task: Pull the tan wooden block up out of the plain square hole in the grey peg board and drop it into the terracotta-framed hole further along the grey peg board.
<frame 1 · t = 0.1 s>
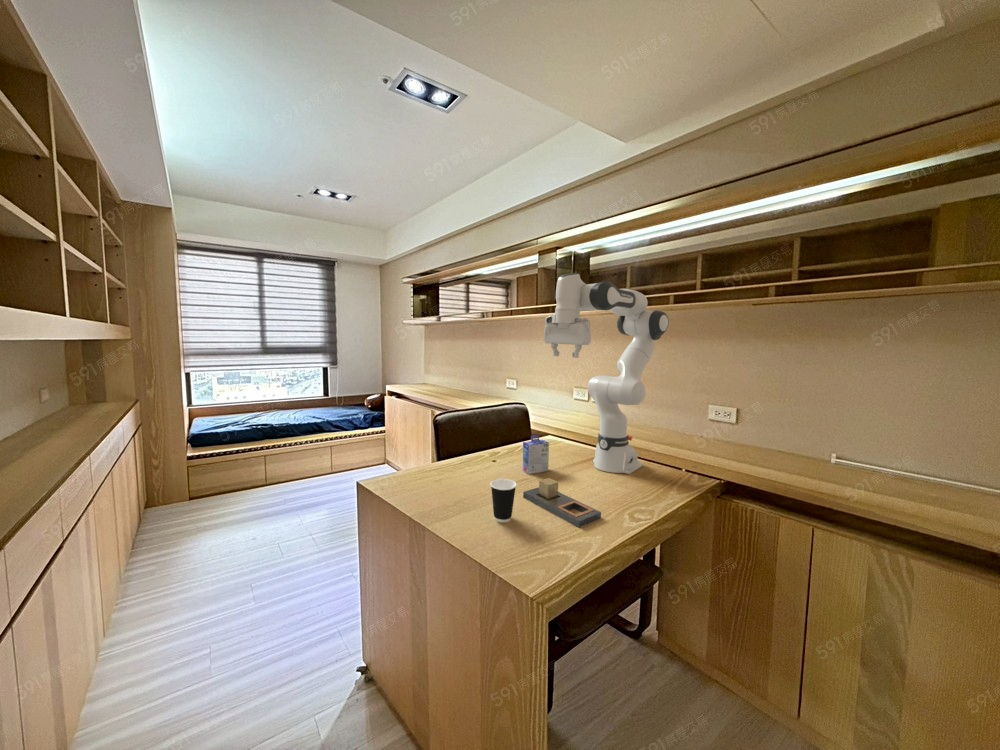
hand: (565, 356, 139), 48 cm above the table, fingers open, 8 cm apart
grey peg board: (559, 507, 123), on the table
tan wooden block: (548, 501, 128), resting in grey peg board
ink cartridge box: (535, 471, 156), on the table
dixie cup: (502, 519, 115), on the table
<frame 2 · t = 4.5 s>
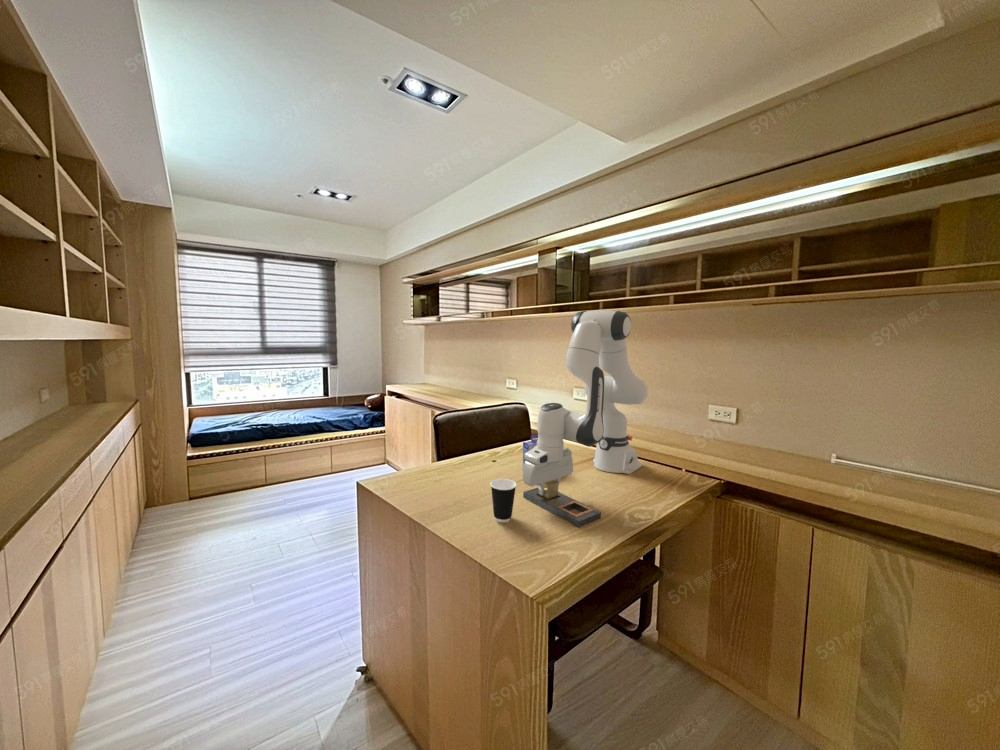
hand: (548, 492, 127), 3 cm above the table, fingers closed on tan wooden block, 4 cm apart
tan wooden block: (548, 501, 128), resting in grey peg board, touching gripper
everything else where it was.
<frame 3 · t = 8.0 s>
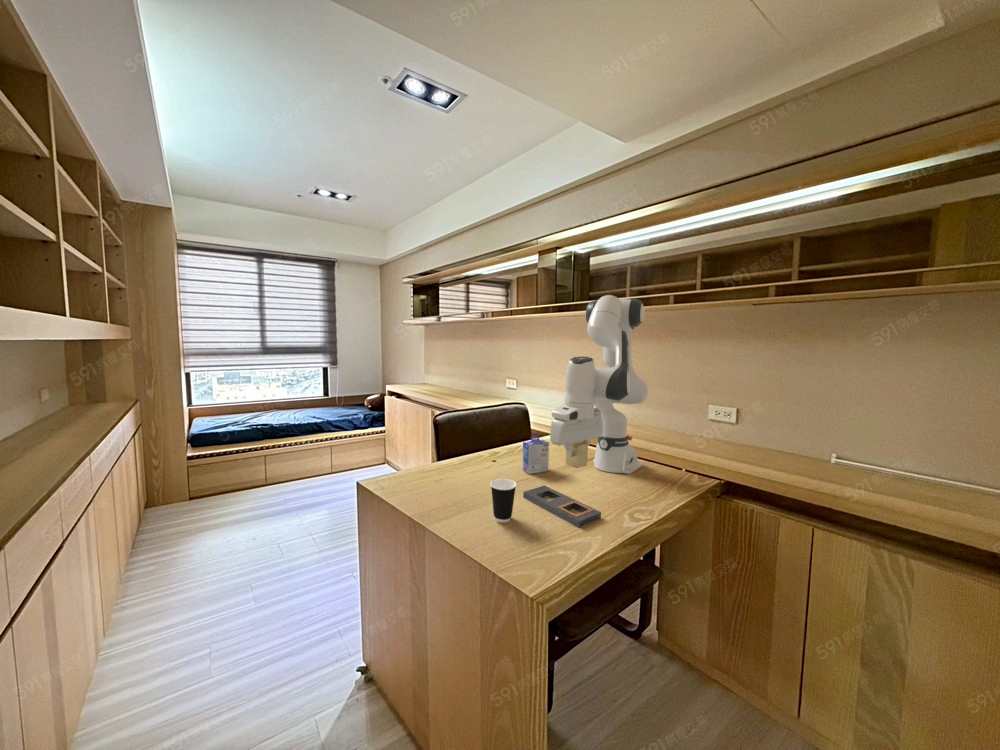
hand: (576, 454, 116), 19 cm above the table, fingers closed on tan wooden block, 4 cm apart
tan wooden block: (576, 464, 117), point 16 cm above the table, touching gripper
everything else where it was.
when the fingers open (5 cm above the table, at t = 11.6 s): tan wooden block drops 1 cm, resting in grey peg board.
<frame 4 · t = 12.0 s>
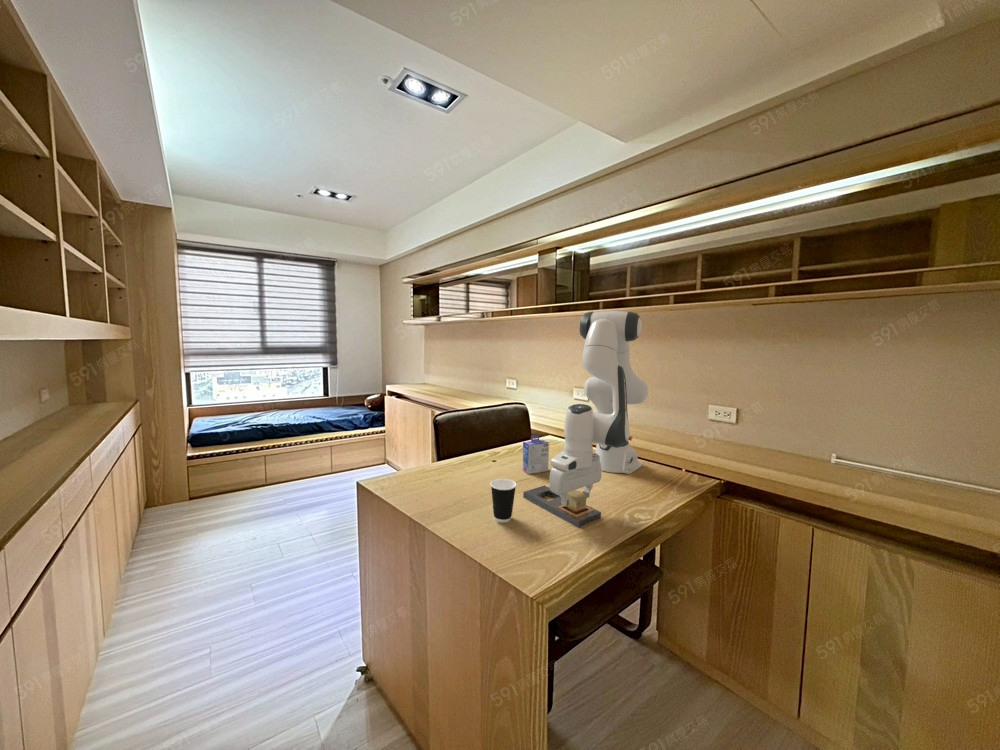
hand: (575, 501, 118), 5 cm above the table, fingers open, 8 cm apart
tan wooden block: (575, 515, 118), resting in grey peg board
everything else where it was.
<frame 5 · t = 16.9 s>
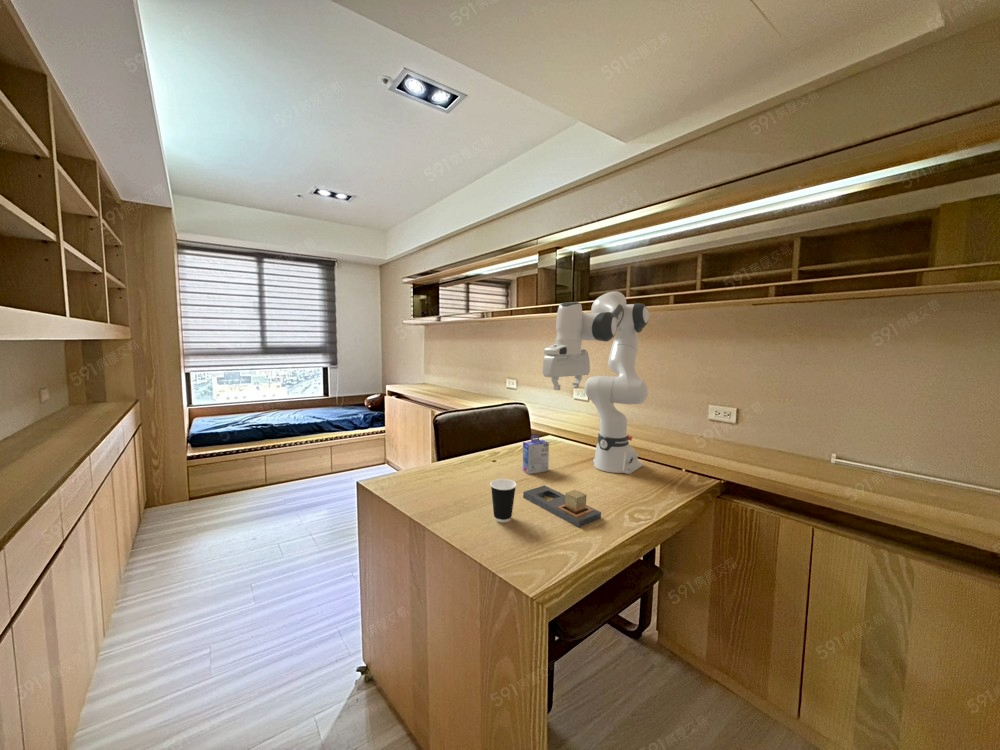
hand: (566, 389, 132), 37 cm above the table, fingers open, 8 cm apart
nothing on the table moved.
at the end: tan wooden block 0.1 cm from the target spot on the grey peg board, point 0.0 cm above the grey peg board's base; tan wooden block tilted 0°; the gripper is holding nothing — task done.
